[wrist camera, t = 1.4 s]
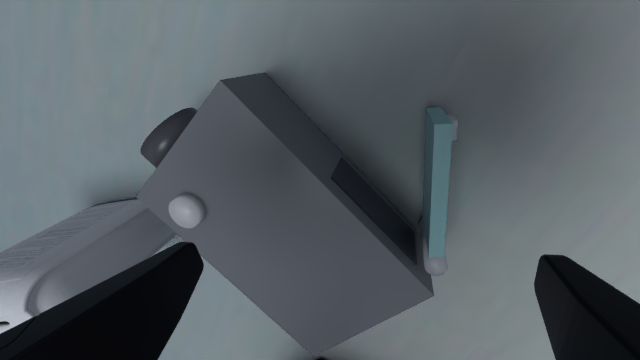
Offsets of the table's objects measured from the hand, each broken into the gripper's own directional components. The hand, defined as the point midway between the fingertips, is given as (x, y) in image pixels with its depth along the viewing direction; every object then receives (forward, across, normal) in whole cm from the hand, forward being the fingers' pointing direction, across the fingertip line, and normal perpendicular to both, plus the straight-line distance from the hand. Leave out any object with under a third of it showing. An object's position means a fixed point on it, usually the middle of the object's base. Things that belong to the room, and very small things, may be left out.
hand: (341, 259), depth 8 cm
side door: (+13, -3, +4) cm, 13 cm away
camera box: (+12, +6, +6) cm, 15 cm away
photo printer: (+12, +23, +7) cm, 27 cm away
